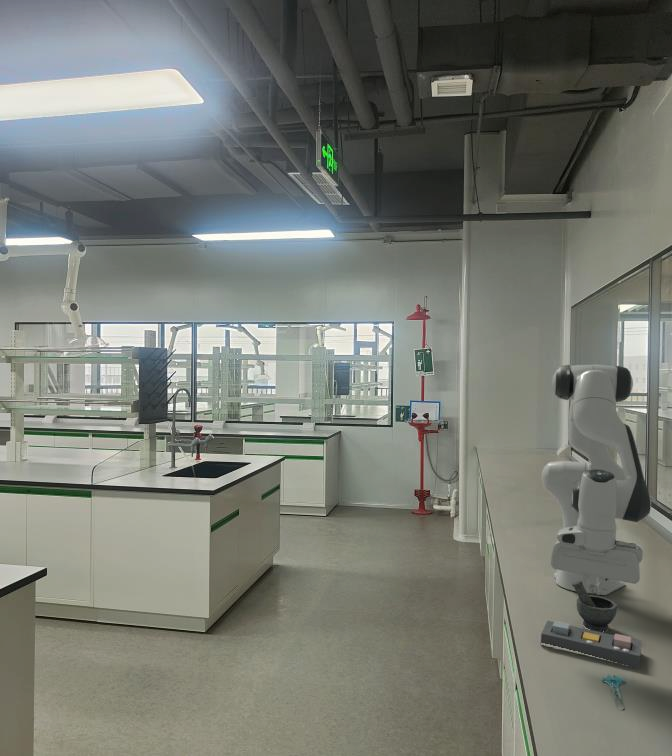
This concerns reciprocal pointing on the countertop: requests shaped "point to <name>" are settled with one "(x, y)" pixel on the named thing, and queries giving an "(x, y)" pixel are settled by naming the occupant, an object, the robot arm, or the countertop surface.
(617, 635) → the button two
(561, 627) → the button none
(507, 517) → the countertop surface
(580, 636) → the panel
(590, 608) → the mortar and pestle
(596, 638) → the button one
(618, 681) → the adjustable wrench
